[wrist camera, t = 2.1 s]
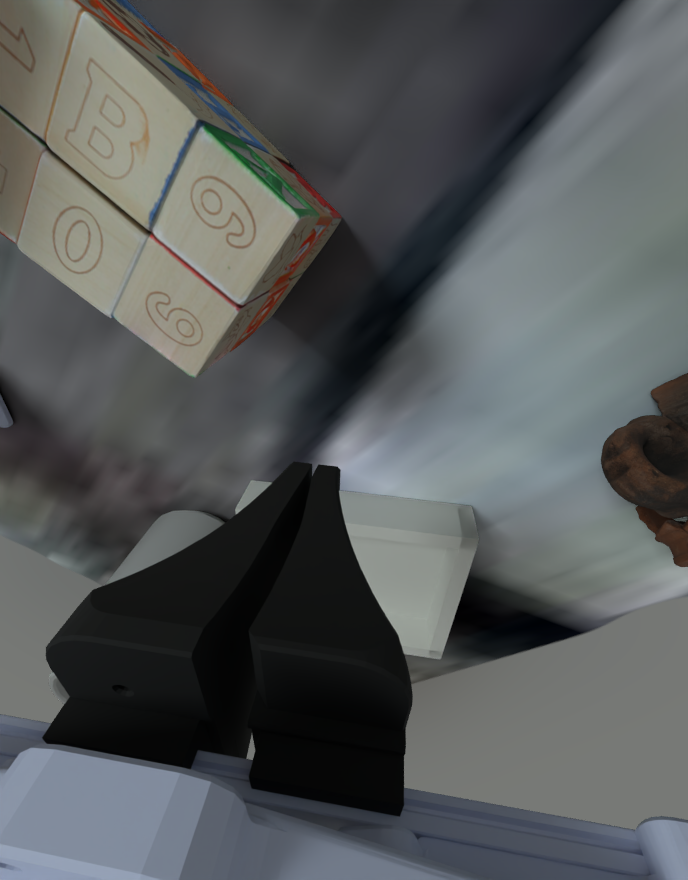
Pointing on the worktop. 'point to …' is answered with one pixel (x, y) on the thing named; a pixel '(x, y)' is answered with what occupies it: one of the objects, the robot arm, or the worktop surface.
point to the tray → (408, 560)
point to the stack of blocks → (145, 181)
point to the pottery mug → (655, 466)
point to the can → (157, 553)
